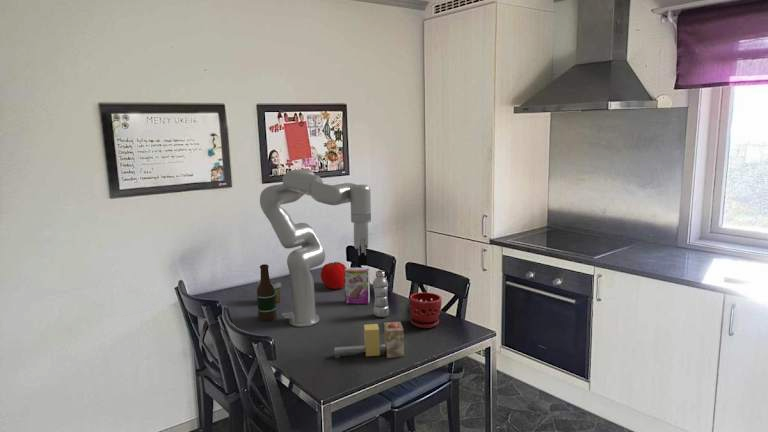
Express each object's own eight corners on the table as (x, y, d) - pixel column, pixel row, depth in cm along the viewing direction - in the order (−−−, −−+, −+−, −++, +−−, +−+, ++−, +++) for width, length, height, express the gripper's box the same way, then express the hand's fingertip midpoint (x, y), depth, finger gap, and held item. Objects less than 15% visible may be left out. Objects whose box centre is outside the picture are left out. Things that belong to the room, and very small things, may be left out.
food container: (253, 303, 238) (251, 283, 236) (260, 299, 243) (259, 279, 242) (275, 306, 233) (273, 286, 231) (282, 302, 239) (281, 282, 237)
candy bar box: (345, 304, 234) (343, 270, 231) (346, 300, 239) (345, 267, 236) (368, 304, 233) (367, 270, 230) (370, 300, 238) (369, 267, 235)
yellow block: (365, 356, 180) (365, 330, 178) (364, 350, 185) (363, 324, 183) (379, 355, 180) (379, 329, 178) (378, 349, 185) (377, 323, 184)
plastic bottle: (387, 319, 215) (386, 274, 211) (372, 318, 216) (370, 273, 213) (390, 313, 221) (389, 269, 218) (375, 313, 222) (374, 269, 219)
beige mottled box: (387, 358, 179) (386, 331, 177) (384, 348, 187) (384, 322, 185) (404, 357, 179) (403, 330, 178) (400, 347, 188) (400, 321, 186)
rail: (334, 358, 180) (334, 350, 179) (334, 355, 182) (334, 347, 182) (387, 354, 182) (387, 346, 181) (386, 351, 184) (386, 343, 184)
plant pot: (432, 332, 200) (432, 303, 198) (404, 326, 207) (403, 298, 205) (446, 321, 211) (446, 294, 209) (419, 316, 218) (418, 289, 216)
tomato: (347, 292, 252) (346, 265, 249) (319, 292, 252) (318, 265, 250) (349, 282, 267) (348, 257, 265) (323, 282, 267) (322, 257, 265)
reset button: (390, 337, 181) (390, 326, 180) (389, 334, 184) (389, 323, 183) (398, 336, 181) (398, 325, 180) (397, 333, 184) (396, 322, 183)
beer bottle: (259, 315, 222) (256, 263, 218) (277, 314, 223) (274, 262, 219) (257, 322, 215) (253, 267, 211) (275, 321, 215) (272, 267, 211)
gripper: (350, 214, 196) (351, 260, 200) (352, 221, 182) (353, 271, 185) (369, 214, 197) (370, 259, 201) (372, 221, 183) (374, 270, 186)
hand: (362, 264), depth 193 cm, fingers closed
